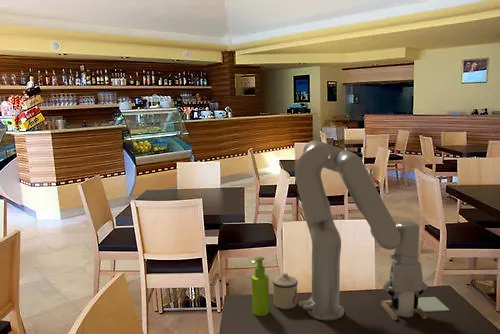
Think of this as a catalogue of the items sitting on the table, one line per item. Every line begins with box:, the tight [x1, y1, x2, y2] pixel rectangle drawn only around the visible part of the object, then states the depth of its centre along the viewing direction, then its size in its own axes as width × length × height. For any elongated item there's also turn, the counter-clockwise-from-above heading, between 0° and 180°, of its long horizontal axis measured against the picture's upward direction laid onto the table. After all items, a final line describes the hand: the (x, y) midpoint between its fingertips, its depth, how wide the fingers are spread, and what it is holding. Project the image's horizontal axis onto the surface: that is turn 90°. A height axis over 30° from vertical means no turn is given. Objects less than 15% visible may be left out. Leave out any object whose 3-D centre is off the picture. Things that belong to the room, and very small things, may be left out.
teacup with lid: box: [272, 272, 299, 310], centre depth 153 cm, size 12×9×12 cm
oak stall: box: [380, 299, 428, 321], centre depth 144 cm, size 11×11×2 cm
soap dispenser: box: [250, 256, 270, 317], centre depth 145 cm, size 6×7×20 cm
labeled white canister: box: [394, 292, 415, 318], centre depth 143 cm, size 6×8×9 cm
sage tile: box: [418, 296, 450, 313], centre depth 149 cm, size 10×10×1 cm
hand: (404, 307), depth 143 cm, fingers closed on labeled white canister, 6 cm apart
